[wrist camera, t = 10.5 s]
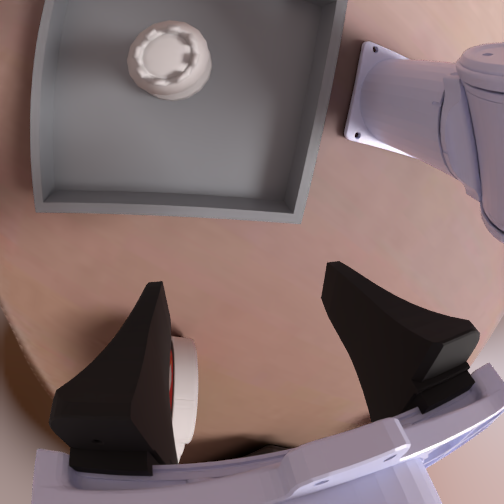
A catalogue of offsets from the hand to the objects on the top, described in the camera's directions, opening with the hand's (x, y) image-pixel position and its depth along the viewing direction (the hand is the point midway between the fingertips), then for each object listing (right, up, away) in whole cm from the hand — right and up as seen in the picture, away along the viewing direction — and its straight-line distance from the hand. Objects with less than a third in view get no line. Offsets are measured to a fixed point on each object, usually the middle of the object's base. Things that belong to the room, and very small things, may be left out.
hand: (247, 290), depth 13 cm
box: (-4, +12, +4) cm, 14 cm away
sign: (-9, -13, +19) cm, 25 cm away
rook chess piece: (-4, +13, +3) cm, 14 cm away
